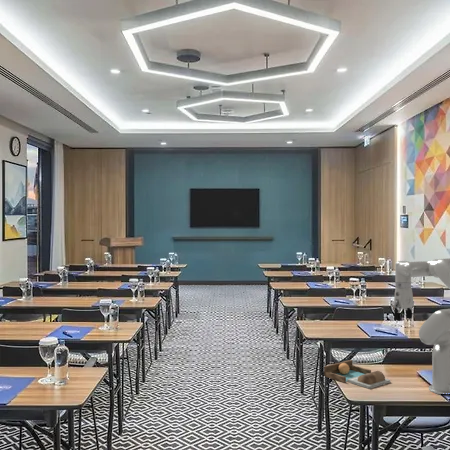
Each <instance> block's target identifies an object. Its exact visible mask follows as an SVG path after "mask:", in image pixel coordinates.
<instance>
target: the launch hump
mask: <svg viewBox="0 0 450 450" xmlns="http://www.w3.org/2000/svg"><path fill="white" fill-rule="evenodd" d="M385 379H386V377H385V375H384V373H383V372H382V371H381V370H375V371H371V373H368V374H364V375H361V376H359V377H358V380H357V381H359V382H362V383H366V384H369V385H370V384H373V383H377V382H380V381H383V380H385Z"/></svg>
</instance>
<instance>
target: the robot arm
mask: <svg viewBox="0 0 450 450" xmlns="http://www.w3.org/2000/svg"><path fill="white" fill-rule="evenodd" d="M394 269H395V270H394V271H395V273H394V274H395V278H394V279H395V280H394V281H395V283H394V285H395V290H394V298H393V299H394V300H393V303H392V304H391V307H392V310H393V313H394V321H398V322H401V320H402V319H401V318H402V317H401V316H402V315H401V311H402V310H405V318H406V319H413V310H414V309H413V308H414V305H415V301H414V294H413V288H412V278H418V277H421V278H422V277H434V278H438V279H439V280H440V281H441V282H442V283H443V284H444V285H445V286H446V288H448V289H449V290H450V258H439V259H437V258H436V259H435V258H434V259H433V260H430V261H429V260H425V261H407V260H398V261H396V262H395V265H394ZM418 338H419V339H420V341H421V343H423V344H424V345H428V346H433V347H432V350H431V351H432V353H431V356H432V357H431V361H432V364H431V365H432V367H431V368H432V369H431V371H432V373H431V374H432V375H431V376H432V377H431V378H432V380H431V385H429V386H428V391H430V392H431V393H434V394H438V395H441V394H443V393H444V394H446V393H447V394H448V393H450V308H444V309H439V310H436V311H435V312H433V313H432V314H430V316H429V317H428V318H427V319H426V320H425V322H423V323H422V324H421V326H420V328H419V330H418Z"/></svg>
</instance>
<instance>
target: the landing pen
mask: <svg viewBox="0 0 450 450" xmlns="http://www.w3.org/2000/svg"><path fill="white" fill-rule="evenodd" d="M342 363H346V364H347V365H348V366H349V370H353V371H356V372H360V373H363V374H368V373H371V372H372V370H371V369H369V368H364V367H361V366H357V365H354V364H353V359H349V360H344V361H340V362H335V363H332V364H328V365H325V366H323V376H324V377H325V378H328V379H331V380H335V381H338V382H341V383H346V377H344V376H341V375H337V373H340V372H339V370H338V367H339V365H340V364H342Z"/></svg>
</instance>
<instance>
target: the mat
mask: <svg viewBox="0 0 450 450" xmlns="http://www.w3.org/2000/svg"><path fill="white" fill-rule="evenodd" d="M337 375H341V376H344V377H346V382H347V379H351V378H354V377H358V376H361V375H364V374H363V373H360V372H356V371H353V370H349V372H348V373H347V374H341V373H337ZM346 382H345V383H346ZM347 383H348V382H347Z"/></svg>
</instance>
